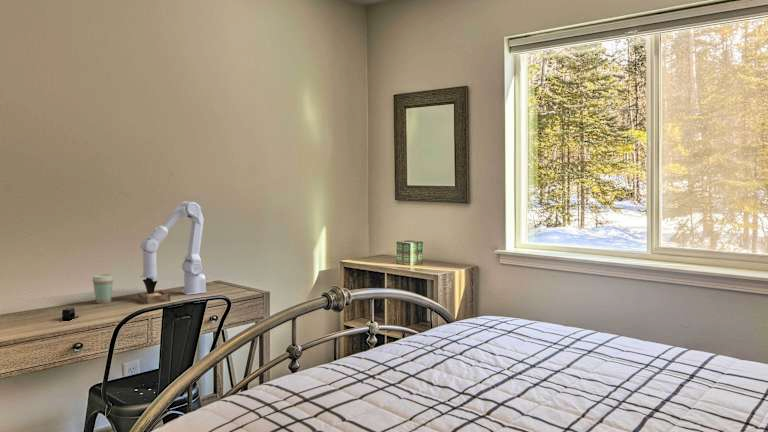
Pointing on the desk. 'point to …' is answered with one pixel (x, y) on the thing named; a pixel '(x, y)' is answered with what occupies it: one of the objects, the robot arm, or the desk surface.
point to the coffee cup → (103, 288)
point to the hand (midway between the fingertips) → (150, 294)
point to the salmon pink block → (153, 294)
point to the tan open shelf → (154, 298)
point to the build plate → (68, 314)
